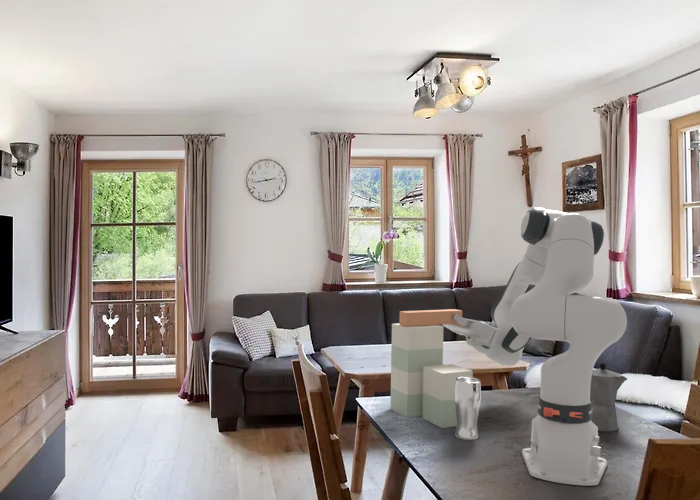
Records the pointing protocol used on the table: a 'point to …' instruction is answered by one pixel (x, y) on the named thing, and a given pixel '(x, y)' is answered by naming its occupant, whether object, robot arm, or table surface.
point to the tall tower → (412, 364)
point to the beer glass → (467, 407)
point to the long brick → (428, 317)
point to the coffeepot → (604, 398)
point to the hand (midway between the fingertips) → (448, 315)
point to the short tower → (441, 393)
